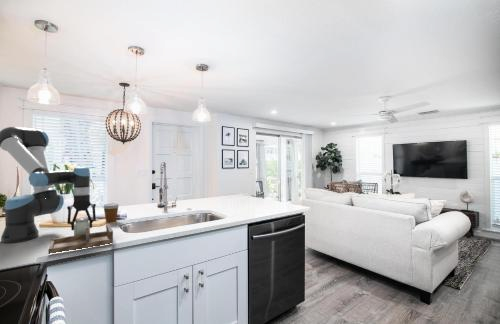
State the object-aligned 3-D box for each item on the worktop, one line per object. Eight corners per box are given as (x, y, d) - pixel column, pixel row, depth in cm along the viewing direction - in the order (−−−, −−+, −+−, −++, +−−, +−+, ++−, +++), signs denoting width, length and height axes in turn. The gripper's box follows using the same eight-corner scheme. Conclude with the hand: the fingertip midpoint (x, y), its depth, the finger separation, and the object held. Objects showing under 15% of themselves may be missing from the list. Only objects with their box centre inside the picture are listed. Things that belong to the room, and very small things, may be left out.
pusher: (86, 245, 121) (86, 234, 121) (85, 237, 133) (85, 227, 132) (88, 245, 122) (88, 234, 122) (88, 237, 133) (88, 227, 133)
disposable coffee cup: (101, 223, 164) (101, 206, 164) (105, 220, 174) (105, 203, 173) (116, 223, 167) (116, 205, 167) (120, 219, 176) (120, 203, 176)
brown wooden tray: (48, 255, 112) (48, 240, 112) (51, 244, 126) (51, 231, 125) (112, 244, 127) (112, 231, 127) (109, 235, 141) (109, 223, 140)
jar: (75, 238, 135) (75, 220, 135) (75, 235, 140) (75, 218, 140) (88, 236, 139) (88, 219, 138) (88, 233, 144) (88, 216, 144)
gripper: (60, 196, 130) (60, 239, 131) (101, 193, 141) (101, 233, 142) (61, 194, 136) (61, 235, 137) (100, 192, 147) (100, 230, 148)
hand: (82, 234), depth 139 cm, fingers closed on jar, 6 cm apart
